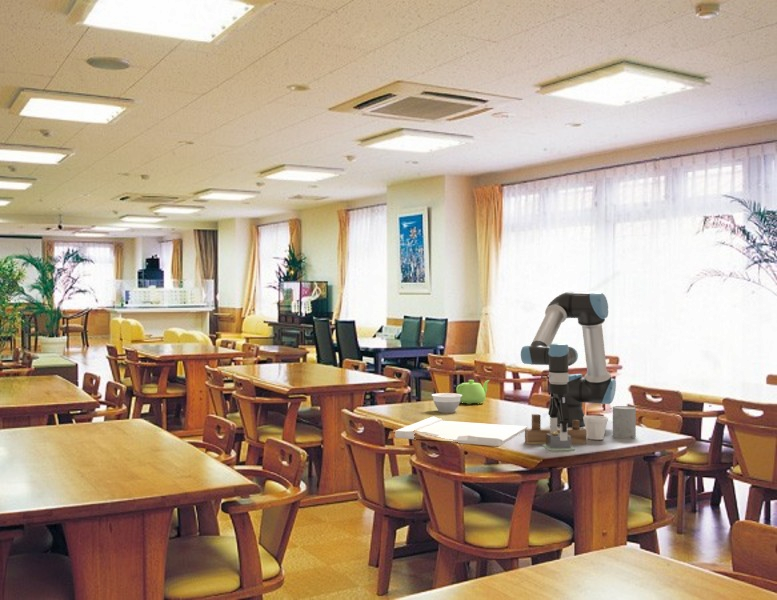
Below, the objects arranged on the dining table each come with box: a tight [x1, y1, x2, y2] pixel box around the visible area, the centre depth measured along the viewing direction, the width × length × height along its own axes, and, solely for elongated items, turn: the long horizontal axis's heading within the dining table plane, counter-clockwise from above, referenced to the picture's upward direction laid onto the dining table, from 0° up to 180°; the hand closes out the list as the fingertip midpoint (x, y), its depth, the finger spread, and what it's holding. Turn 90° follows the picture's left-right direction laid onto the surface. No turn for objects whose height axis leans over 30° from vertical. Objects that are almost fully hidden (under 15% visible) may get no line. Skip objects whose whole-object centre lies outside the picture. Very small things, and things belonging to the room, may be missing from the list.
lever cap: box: [546, 431, 572, 448], centre depth 312 cm, size 7×8×6 cm
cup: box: [583, 415, 609, 441], centre depth 331 cm, size 10×10×9 cm
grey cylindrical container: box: [612, 405, 637, 439], centre depth 338 cm, size 10×10×12 cm
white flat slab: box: [394, 415, 528, 447], centre depth 345 cm, size 45×45×4 cm
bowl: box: [431, 392, 462, 414], centre depth 412 cm, size 16×16×9 cm
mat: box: [541, 444, 576, 452], centre depth 311 cm, size 10×10×1 cm
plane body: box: [524, 413, 587, 445], centre depth 323 cm, size 5×24×12 cm, turn 94°
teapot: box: [455, 379, 491, 405], centre depth 444 cm, size 22×15×13 cm
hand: (558, 437), depth 312 cm, fingers open, 13 cm apart
